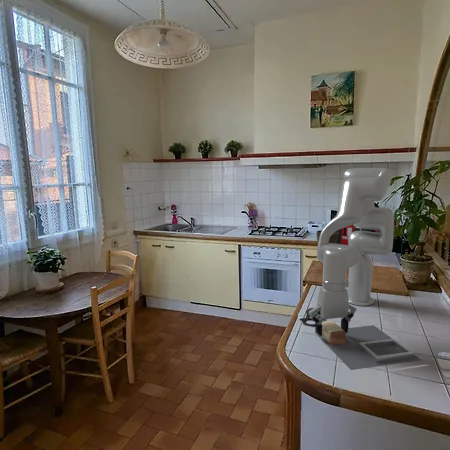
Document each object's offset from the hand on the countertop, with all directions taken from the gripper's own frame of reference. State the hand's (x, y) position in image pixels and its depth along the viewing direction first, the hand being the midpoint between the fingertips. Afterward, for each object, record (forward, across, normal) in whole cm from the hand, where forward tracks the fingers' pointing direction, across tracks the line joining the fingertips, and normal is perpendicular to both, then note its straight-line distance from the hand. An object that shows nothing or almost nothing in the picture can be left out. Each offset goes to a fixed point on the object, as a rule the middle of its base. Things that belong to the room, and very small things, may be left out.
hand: (331, 332), depth 111 cm
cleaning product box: (+2, -78, -118) cm, 141 cm away
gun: (+3, -1, -16) cm, 16 cm away
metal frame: (+2, -12, +12) cm, 17 cm away
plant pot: (+2, -56, -106) cm, 120 cm away
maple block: (+2, 0, 0) cm, 2 cm away
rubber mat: (+2, -8, +6) cm, 11 cm away
